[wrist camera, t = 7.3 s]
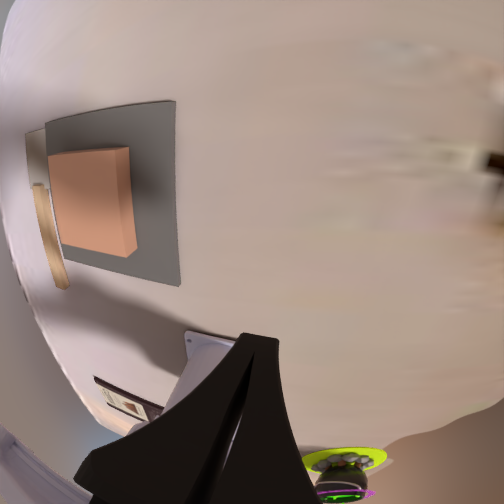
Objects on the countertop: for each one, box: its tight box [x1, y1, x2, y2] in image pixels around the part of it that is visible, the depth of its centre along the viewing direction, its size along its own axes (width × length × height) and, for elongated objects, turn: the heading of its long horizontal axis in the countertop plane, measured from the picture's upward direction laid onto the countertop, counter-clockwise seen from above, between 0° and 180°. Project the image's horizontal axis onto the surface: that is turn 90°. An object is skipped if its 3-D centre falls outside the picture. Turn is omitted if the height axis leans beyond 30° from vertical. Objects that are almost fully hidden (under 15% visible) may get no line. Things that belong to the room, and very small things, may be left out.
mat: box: [45, 101, 181, 287], centre depth 20 cm, size 14×14×1 cm
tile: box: [48, 147, 137, 258], centre depth 19 cm, size 8×2×8 cm
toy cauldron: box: [302, 447, 387, 504], centre depth 29 cm, size 15×15×11 cm
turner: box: [25, 129, 70, 290], centre depth 22 cm, size 18×4×1 cm, turn 177°
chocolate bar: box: [94, 376, 164, 422], centre depth 37 cm, size 9×1×18 cm
